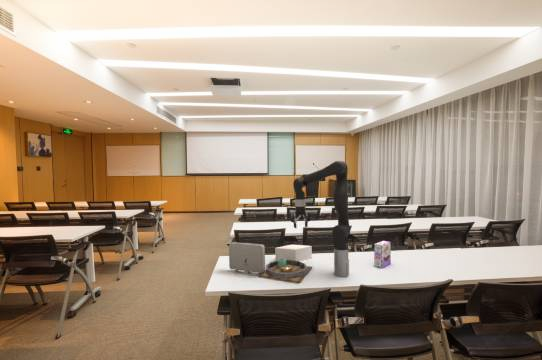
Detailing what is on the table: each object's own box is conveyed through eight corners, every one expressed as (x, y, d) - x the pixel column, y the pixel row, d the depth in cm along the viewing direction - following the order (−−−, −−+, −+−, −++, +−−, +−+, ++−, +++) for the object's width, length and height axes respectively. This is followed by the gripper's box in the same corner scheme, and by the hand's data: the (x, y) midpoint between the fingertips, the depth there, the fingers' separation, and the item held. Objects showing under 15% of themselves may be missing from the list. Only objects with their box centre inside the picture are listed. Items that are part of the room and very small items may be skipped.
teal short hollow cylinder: (286, 265, 194) (286, 258, 194) (285, 268, 188) (285, 261, 188) (278, 265, 195) (278, 258, 195) (277, 268, 189) (277, 261, 189)
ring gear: (311, 266, 191) (311, 262, 191) (298, 281, 166) (298, 276, 166) (276, 262, 202) (276, 258, 202) (259, 274, 178) (259, 270, 178)
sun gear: (294, 269, 186) (294, 265, 186) (290, 273, 178) (290, 269, 178) (282, 267, 190) (282, 264, 190) (277, 271, 182) (277, 268, 182)
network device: (227, 272, 187) (227, 244, 186) (234, 268, 195) (233, 241, 194) (261, 277, 177) (261, 246, 177) (266, 272, 185) (266, 243, 185)
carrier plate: (312, 268, 191) (312, 261, 191) (299, 283, 166) (298, 274, 166) (276, 263, 203) (275, 256, 203) (258, 277, 178) (258, 268, 177)
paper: (314, 261, 206) (314, 248, 206) (276, 264, 203) (276, 250, 203) (309, 256, 221) (309, 243, 220) (274, 258, 217) (274, 245, 217)
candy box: (382, 268, 189) (381, 245, 188) (374, 266, 193) (373, 243, 193) (391, 263, 198) (390, 241, 197) (383, 262, 202) (383, 240, 202)
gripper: (306, 204, 202) (307, 225, 203) (289, 205, 198) (289, 227, 198) (311, 205, 195) (311, 227, 196) (293, 206, 191) (294, 229, 191)
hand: (300, 227), depth 197 cm, fingers open, 8 cm apart
